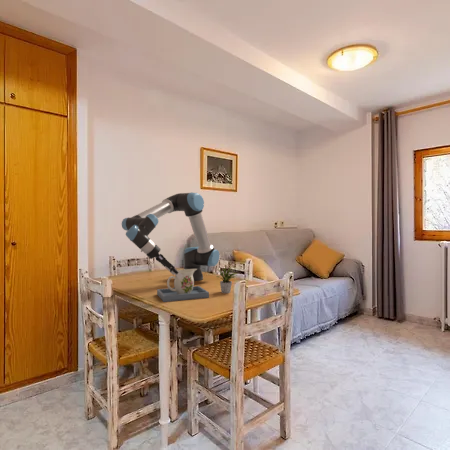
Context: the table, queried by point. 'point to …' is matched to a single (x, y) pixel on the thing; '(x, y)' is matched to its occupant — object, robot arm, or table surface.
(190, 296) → the tray
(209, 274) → the table surface
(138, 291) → the table surface
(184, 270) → the pitcher
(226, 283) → the house plant
